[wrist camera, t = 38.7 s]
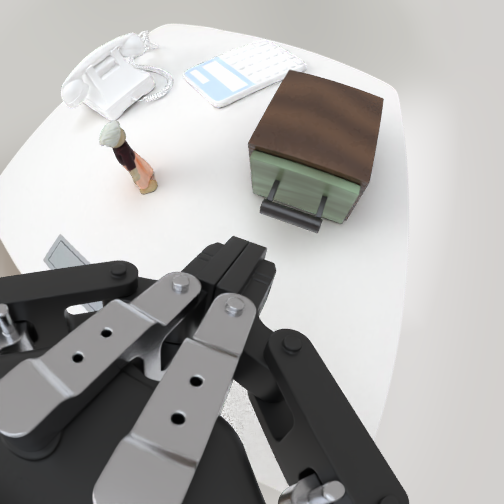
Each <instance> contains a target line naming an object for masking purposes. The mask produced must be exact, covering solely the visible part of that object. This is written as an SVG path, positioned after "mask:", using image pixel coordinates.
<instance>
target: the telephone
mask: <svg viewBox="0 0 504 504" xmlns="http://www.w3.org/2000/svg"><path fill="white" fill-rule="evenodd" d="M146 32H148V31H146ZM146 32H144V31H142V32H141V33H140V34H139V35H137V34H136V33H135V32H133V33H130V34H126V35H123V36H121V37H118V38H116V39H113V40H111V41H109V42H107V43H106V44H104V45H102V46H100V47H99V48H97V49H96V50H94V51H93V52H92V53H91V54H89V55H88V56H87V57H86V58H84V59H83V60H82V61H81V62H80V63H79V64H78V65H77V67H76V68H75V69H74V70H73V71H72V72H71V74H70V75H69V76H68V78H67V79H66V80H65V82H64V83H63V85H62V86H61V97H62V100H63V101H64V103H65V104H66V106H67V107H68V108H75V107H77V106H79V105H80V104H81V103H82V102H83V103H85V104H86V105H87V106H89V107H90V108H92V109H93V110H95V111H96V112H98V113H99V114H101V115H102V116H104V117H105V118H107V119H108V120H110V121H115V120H117V119H118V118H119V117H120V116H121V115H122V114H123V111H125V110H126V109H127V108H128V107H129V106H131V105H132V104H133V103H134V102H135V101H142V100H143V99H144V98H145V99H146V102H147V99H148V96H147V97H144V98H143V99H142V100H138V99H139V98H140V97H142V96H143V95H146V94H148V93H149V92H150V91H151V90H153V89H154V86H155V85H156V84H155V82H154V79H153V77H152V76H151V74H150V73H148V72H145V71H143V70H145V69H146V70H147V71H153V72H156V73H159V74H160V73H161V75H163V76H165V77H166V78H167V85H166V86H165V88H164V89H163V90H162V91H160V93H159V92H158V95H159V97H158V95H157V93H156V97H157V98H156V97H155V94H154V95H153V96H154V99H153V97H152V95H151V98H150V96H149V99H148V102H149V101H152V100H155V99H158V98H160V97H162V96H163V95H165V94H166V93H167V92H168V91H169V90H170V89H171V87H172V85H173V77H172V75H171V74H170V73H168V72H167V71H165V70H163V69H160V68H157V67H153V66H144V65H137V64H135V63H134V62H133V60H134V58H135V57H138V56H141V55H143V54H144V52H145V51H146V50H148V48H149V49H151V48H152V49H156V48H158V47H159V45H158V44H156V43H155V44H152V43H150V40H149V37H148V36H149V35H148V34H149V33H146ZM142 34H144V35H146V36H144V35H143V36H144V37H145V38H144V37H143V38H144V39H145V40H144V41H143V40H142V38H141V37H140V36H141V35H142ZM146 39H148V40H149V41H148V40H146ZM144 43H145V45H146V49H145V47H144ZM118 48H119V50H118ZM124 57H130V59H129V63H128V62H127V61H126V59H125V58H124ZM131 63H132V64H131ZM131 65H132V66H131ZM135 65H136V66H135ZM137 66H138V67H139V68H138V67H137ZM142 67H143V68H142ZM147 67H148V69H147ZM149 67H150V68H149ZM140 68H141V69H140ZM163 72H164V73H165V74H164V73H163ZM166 73H167V74H166ZM168 77H169V78H168ZM168 81H169V83H168ZM170 85H171V86H170ZM166 87H167V88H168V89H167V88H166ZM165 89H166V90H165ZM165 91H166V92H165ZM163 93H165V94H163ZM161 95H162V96H161Z"/></svg>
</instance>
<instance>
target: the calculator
mask: <svg viewBox="0 0 504 504" xmlns="http://www.w3.org/2000/svg"><path fill="white" fill-rule="evenodd" d="M306 67H307V65H306V63H305V62H304V61H302V60H301V59H299V58H298V57H296V56H295V55H293V54H292V53H290V52H288V51H287V50H285V49H283V48H282V47H280V46H278V45H277V44H275V43H273V42H271V41H269V40H267V39H263V40H259V41H256V42H253V43H250V44H247V45H244V46H242V47H239V48H236V49H234V50H231V51H229V52H226V53H224V54H221V55H219V56H216V57H214V58H212V59H209V60H207V61H205V62H202V63H200V64H198V65H196V66H194V67H192V68H190V69H188V70H186V71H185V72H184V73H183V77H184V79H185V80H186V81H187V82H188V83H189V84H190V85H192V86H193V87H194V88H195V89H196V90H197V91H198V92H199V93H200V94H201V95H202V96H204V97H205V98H206V99H207V100H208V101H209V102H210V103H211V104H212V105H213V106H215V107H217V108H220V107H224V106H226V105H228V104H230V103H232V102H234V101H236V100H238V99H241V98H243V97H245V96H247V95H249V94H251V93H253V92H255V91H258V90H260V89H262V88H264V87H267V86H269V85H271V84H274V83H276V82H278V81H281V80H283V79H284V78H285V76H286V74H287V72H288V71H289V70H294V71H298V72H303V71H304V70H306Z"/></svg>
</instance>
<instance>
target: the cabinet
mask: <svg viewBox="0 0 504 504" xmlns="http://www.w3.org/2000/svg"><path fill="white" fill-rule="evenodd" d="M383 100H384V99H383V98H380V97H378V96H375V95H373V94H370V93H367V92H364V91H362V90H359V89H356V88H353V87H350V86H347V85H344V84H341V83H338V82H334V81H331V80H328V79H324V78H321V77H317V76H314V75H310V74H306V73H302V72H298V71H294V70H289V71H288V72H287V74H286V76H285V78H284V79H283V81H282V83H281V84H280V86H279V88H278V90H277V91H276V93H275V95H274V97H273V98H272V100H271V102H270V104H269V106H268V107H267V109H266V111H265V113H264V115H263V116H262V118H261V120H260V122H259V124H258V126H257V127H256V129H255V131H254V133H253V135H252V137H251V139H250V140H249V142H248V147H249V157H250V156H251V154H252V152H253V151H254V150H255V151H259V152H262V153H264V152H266V153H270V154H273V155H276V156H280V157H283V158H286V159H289V160H293V161H296V162H299V163H302V164H305V165H308V166H311V167H314V168H317V169H320V170H323V171H326V172H328V173H331V174H334V175H337V176H339V177H342V178H345V179H348V180H350V181H353V183H355V184H358V185H360V186H361V188H360V192H359V195H358V197H357V199H356V200H355V202H354V204H353V205H352V207H351V209H350V210H349V212H348V214H347V215H346V217H345V219H344V220H347V218H348V217H349V215H350V214H351V212H352V210H353V209H354V207H355V205H356V204H357V202H358V201H359V199H360V197H361V196H362V194H363V192H364V191H365V189H366V187H367V186H368V184H369V181H370V176H371V171H372V166H373V161H374V156H375V151H376V145H377V139H378V133H379V127H380V121H381V114H382V107H383ZM250 168H251V166H250ZM251 178H252V176H251ZM252 188H253V187H252Z"/></svg>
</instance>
